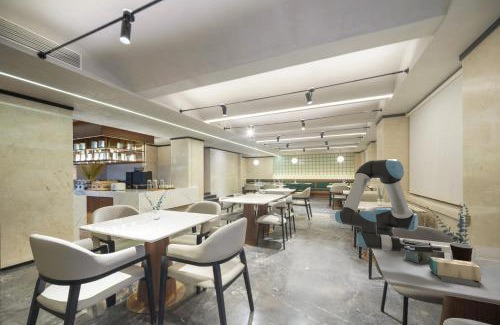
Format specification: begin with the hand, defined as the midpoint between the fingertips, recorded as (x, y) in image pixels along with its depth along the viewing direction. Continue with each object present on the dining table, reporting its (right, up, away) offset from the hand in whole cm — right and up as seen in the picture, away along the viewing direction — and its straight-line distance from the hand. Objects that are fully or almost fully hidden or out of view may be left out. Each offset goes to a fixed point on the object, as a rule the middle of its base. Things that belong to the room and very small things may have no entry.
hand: (449, 249), depth 99 cm
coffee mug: (+19, -13, +12) cm, 27 cm away
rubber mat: (0, -12, -1) cm, 12 cm away
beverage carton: (+4, -14, +18) cm, 23 cm away
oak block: (-6, -9, +2) cm, 11 cm away
